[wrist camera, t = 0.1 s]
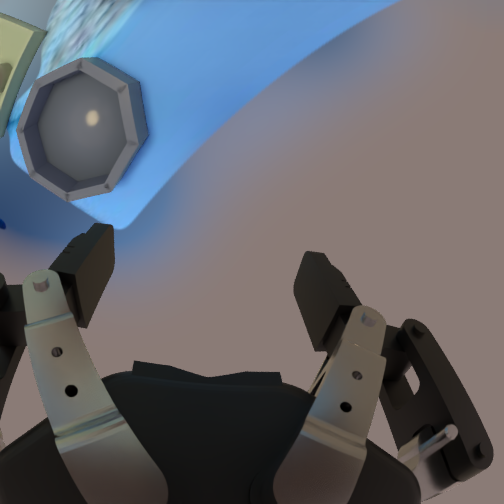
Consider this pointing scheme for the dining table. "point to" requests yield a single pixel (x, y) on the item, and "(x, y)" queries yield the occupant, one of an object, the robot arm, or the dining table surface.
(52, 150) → the bowl
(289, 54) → the dining table surface
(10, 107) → the tray
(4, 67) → the beige rounded piece
